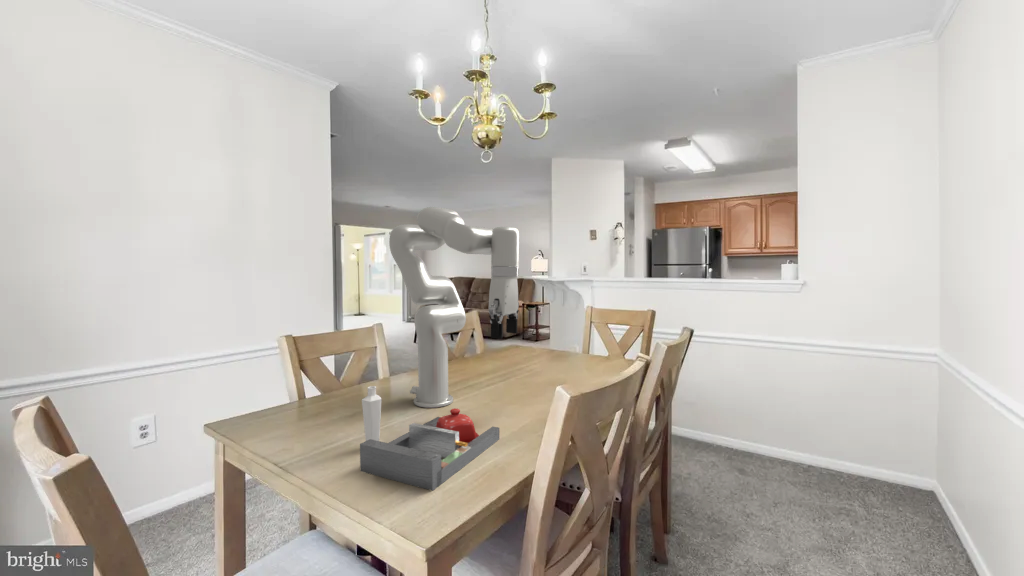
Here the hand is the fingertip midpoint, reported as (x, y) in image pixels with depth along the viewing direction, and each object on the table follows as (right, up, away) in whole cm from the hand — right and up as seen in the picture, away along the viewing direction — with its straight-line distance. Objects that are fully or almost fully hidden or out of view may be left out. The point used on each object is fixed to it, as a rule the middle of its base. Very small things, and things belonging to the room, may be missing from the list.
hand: (504, 335), depth 120 cm
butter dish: (-12, -26, -9) cm, 30 cm away
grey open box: (-16, -26, -17) cm, 35 cm away
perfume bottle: (-32, -26, -13) cm, 43 cm away
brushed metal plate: (-15, -26, -18) cm, 35 cm away
